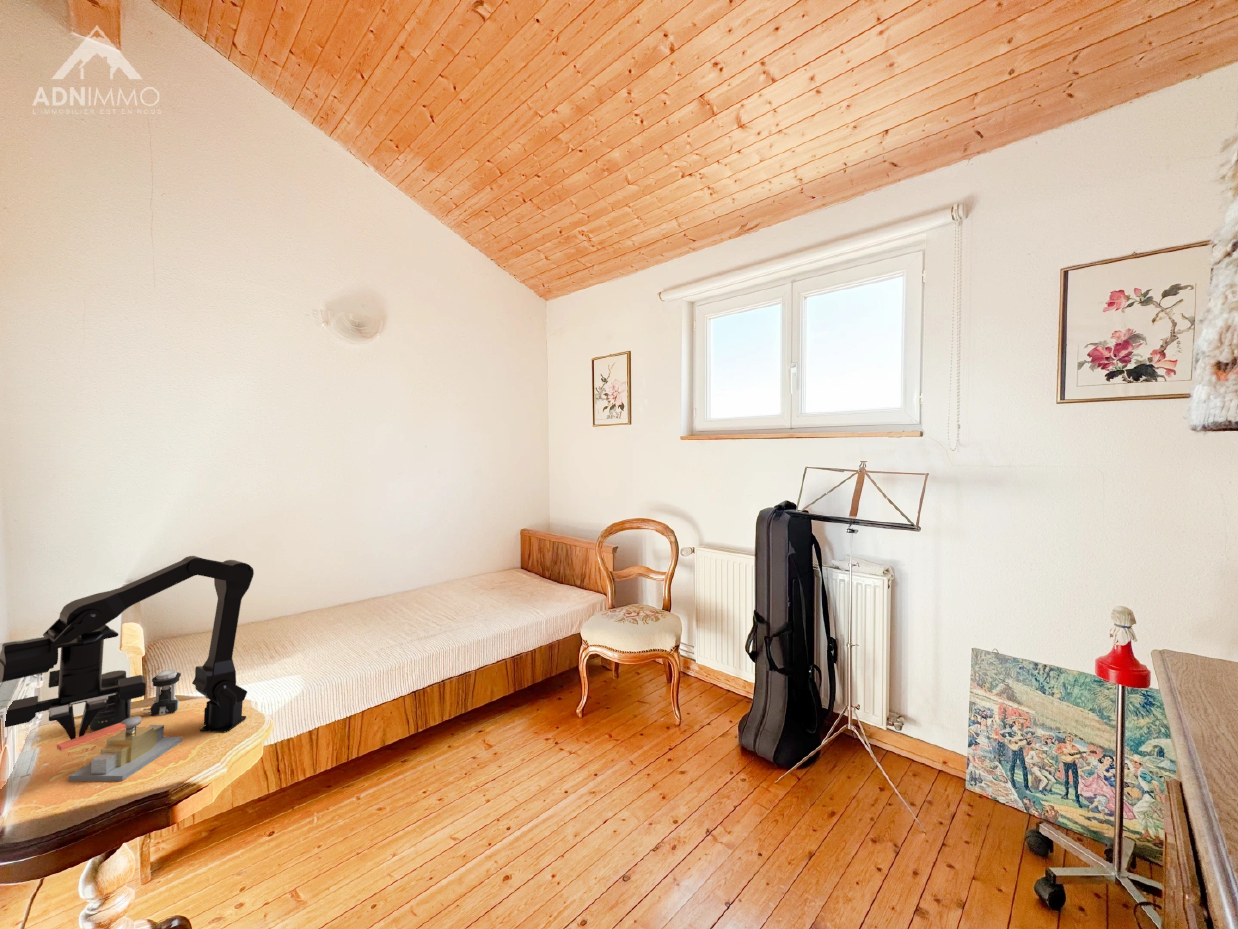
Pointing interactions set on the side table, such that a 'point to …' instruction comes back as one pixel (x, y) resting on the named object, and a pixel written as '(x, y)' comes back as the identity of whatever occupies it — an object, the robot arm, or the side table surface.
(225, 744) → the side table surface
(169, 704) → the push button
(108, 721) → the supplement bottle
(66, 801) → the side table surface
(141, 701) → the side table surface
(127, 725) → the lever
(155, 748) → the board
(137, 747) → the valve
